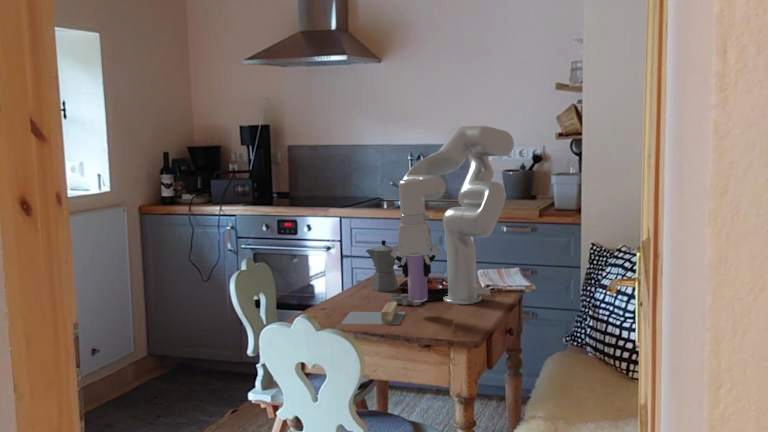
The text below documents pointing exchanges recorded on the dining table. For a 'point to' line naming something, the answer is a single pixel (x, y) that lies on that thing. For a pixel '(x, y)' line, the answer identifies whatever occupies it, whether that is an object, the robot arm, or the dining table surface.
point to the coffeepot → (384, 268)
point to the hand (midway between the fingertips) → (416, 275)
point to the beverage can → (416, 278)
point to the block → (389, 312)
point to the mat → (370, 318)
